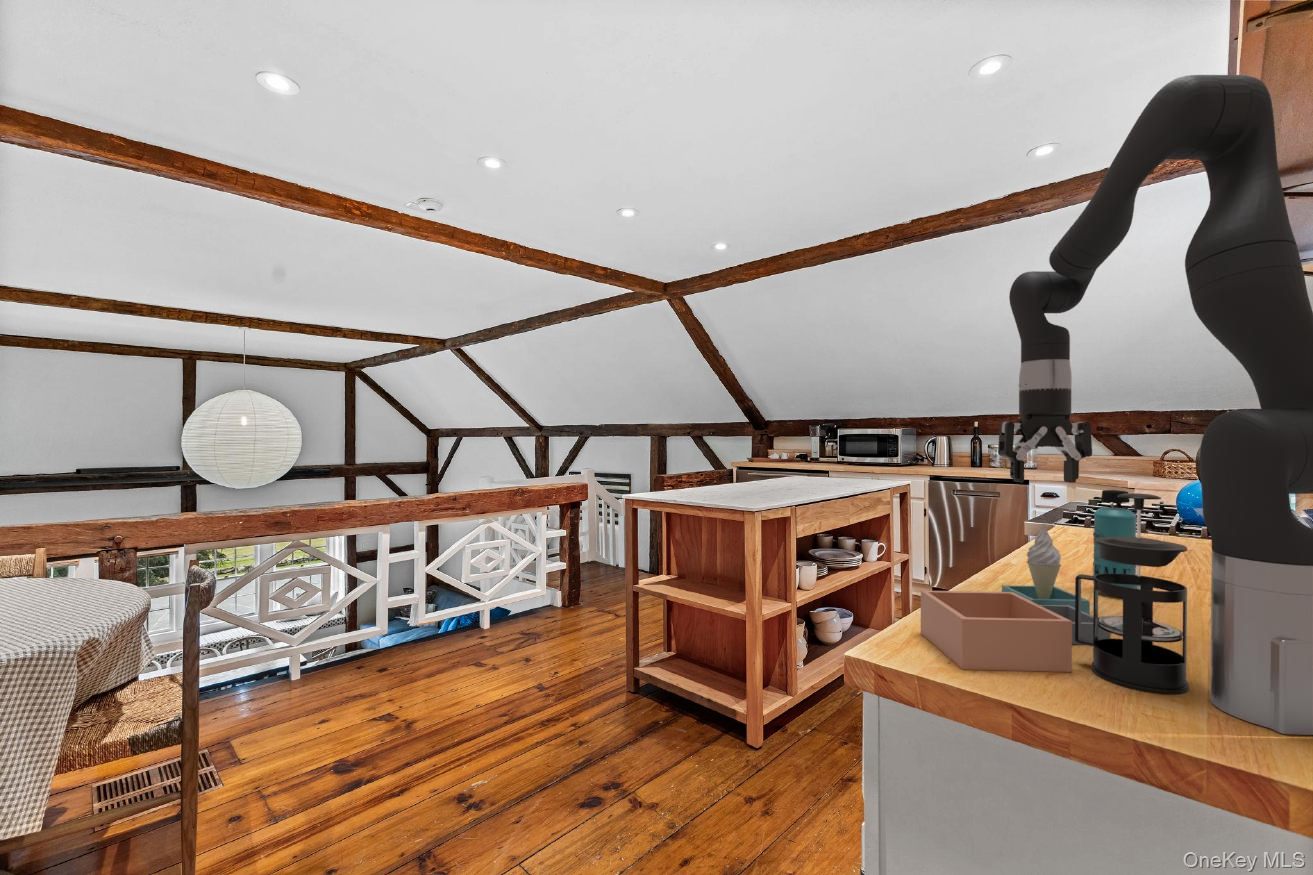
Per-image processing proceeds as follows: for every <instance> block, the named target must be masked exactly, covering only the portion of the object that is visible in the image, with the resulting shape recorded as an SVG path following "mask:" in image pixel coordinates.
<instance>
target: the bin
mask: <svg viewBox="0 0 1313 875" xmlns="http://www.w3.org/2000/svg"><path fill="white" fill-rule="evenodd" d="M920 634H921V635H922V636H923V637H924V638H926V640H928V641H929V642H930V643H931V644H933V645H934V646H935V647H936V648H937V649H938V650H939V651H941V652H942V653H943V654H944V655H945V656H947V658H949V659H950V660H951V661H952V662H953V663H955V665H957V666H958V667H959V668H960V669H961V670H971V671H972V670H973V671H975V670H976V671H977V670H979V671H1012V672H1013V671H1016V672H1017V671H1019V672H1024V671H1025V672H1055V673H1056V672H1057V673H1059V672H1062V673H1072V672H1073V668H1072V667H1073V663H1072V662H1073V660H1072V659H1073V658H1072V657H1073V644H1072V621H1070V620H1068V619H1066V618H1064V617H1062V616H1060V615H1058V614H1056V613H1054V612H1052V611H1050V610H1048V609H1046V608H1044V607H1042V606H1040V605H1038V604H1036V603H1034V602H1032V601H1030V600H1028V599H1026V598H1024V597H1022V596H1020V595H1018V594H1016V593H1014V592H1002V591H972V590H971V591H970V590H969V591H965V590H964V591H963V590H962V591H959V590H956V591H955V590H952V591H951V590H920Z"/></svg>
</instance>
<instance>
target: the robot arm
mask: <svg viewBox="0 0 1313 875" xmlns="http://www.w3.org/2000/svg"><path fill="white" fill-rule="evenodd" d="M1273 108H1274V107H1273V104H1272V97H1271V94H1270V92H1269V89H1268V88H1267V85H1266V84H1265V83H1264V82H1263V81H1262V80H1261V79H1259V78H1256V77H1254V76H1251V75H1250V76H1249V75H1243V74H1234V75H1233V74H1191V75H1184V76H1181V77H1180V76H1179V77H1176V78H1174V79H1172V80H1171V81H1170V82H1168V83H1166V84H1165V85H1164V86H1162V87H1161V88H1160V89H1159V90H1158V91H1157V92H1156V93H1155V94H1154V96H1153V97H1152V98H1151V99H1150V100H1149V102H1148V103H1147V104H1146V106H1145V107H1144V109H1142V111H1141V113H1140V115H1139V116H1138V117H1137V119H1136V121H1135V123H1134V125H1133V126H1132V127H1131V129H1130V131H1129V133H1128V135H1127V136H1126V138H1125V139H1124V141H1123V143H1122V145H1121V146H1120V149H1119V150H1118V152H1117V153H1116V155H1115V157H1114V158H1113V160H1112V162H1111V163H1110V166H1109V167H1108V169H1107V171H1106V173H1105V174H1104V175H1103V178H1102V179H1101V182H1100V184H1099V185H1098V188H1096V190H1095V192H1094V194H1093V195H1092V197H1091V199H1090V201H1089V202H1088V204H1087V205H1086V207H1085V208H1084V210H1083V211H1082V212H1081V213H1080V215H1079V216H1078V217H1077V219H1076V220H1075V221H1074V222H1073V224H1072V225H1071V226H1069V229H1068V230H1066V232H1065V233H1064V234H1063V236H1062V237H1061V238H1060V240H1059V241H1058V242H1057V243H1056V245H1055V246H1054V247H1053V249H1052V250H1051V252H1050V254H1049V257H1048V262H1049V265H1050V268H1052V270H1053V271H1050V270H1049V271H1047V270H1045V271H1042V270H1041V271H1039V270H1038V271H1036V270H1034V271H1026V272H1023V273H1021V274H1019V275H1018V276H1017V277H1016V278H1015V280H1014V281H1013V283H1012V284H1011V287H1010V290H1009V297H1008V299H1009V305H1010V309H1011V312H1012V316H1013V318H1014V321H1015V324H1016V328H1017V332H1018V334H1019V338H1020V369H1019V375H1018V376H1019V377H1018V414H1019V415H1018V416H1019V420H1018V422H1013V421H1001V422H1000V424H999V431H998V432H999V433H998V449H997V454H998V456H1001V457H1004V458H1007V459H1008V460H1009V469H1010V470H1009V476H1010V479H1012V480H1013V482H1014V483H1015V482H1016V483H1024V482H1025V460H1023V459H1024V458H1025V457H1026V456H1027V454H1028V453H1029V452H1030V451H1032V450H1033V449H1034V448H1039V447H1040V448H1044V447H1047V448H1049V447H1050V448H1055V449H1056V450H1057V451H1059V452H1060V454H1062V456H1063V457H1064V458H1065V460H1063V481H1064V482H1065V483H1069V484H1070V483H1071V484H1074V483H1076V482H1077V480H1078V479H1079V477H1080V461H1081V460H1082V459H1085V458H1090V457H1092V455H1093V442H1092V426H1091V423H1090V422H1089V421H1076V422H1071V418H1070V417H1071V415H1072V368H1071V361H1070V360H1071V355H1070V354H1071V347H1070V346H1071V335H1070V331H1069V329H1067V328H1066V327H1064V326H1062V325H1057V324H1054V323H1051V322H1049V321H1048V319H1047V317H1046V315H1045V314H1063V313H1066V312H1069V311H1070V310H1072V309H1074V308H1075V307H1076V306H1077V305H1079V303H1080V302H1081V301H1082V299H1083V298H1084V296H1085V293H1086V291H1087V289H1088V287H1089V285H1090V283H1091V281H1092V279H1093V277H1094V275H1095V273H1096V271H1097V270H1098V268H1099V267H1100V266H1101V265H1102V264H1103V263H1104V262H1105V261H1106V260H1108V258H1109V256H1111V255H1112V253H1114V251H1115V250H1116V249H1117V248H1118V247H1119V245H1121V243H1123V241H1124V239H1125V237H1126V236H1127V235H1128V233H1129V231H1130V228H1131V226H1132V222H1133V218H1134V217H1133V216H1134V211H1135V202H1136V197H1137V195H1138V192H1139V188H1140V187H1141V185H1142V184H1143V183H1144V181H1145V180H1146V178H1148V177H1149V175H1150V174H1151V173H1153V171H1154V170H1155V169H1157V168H1158V167H1159V166H1160V165H1161V164H1162V163H1163V162H1164V161H1165V160H1170V161H1171V160H1175V161H1176V160H1177V161H1178V160H1180V161H1181V160H1182V161H1183V160H1186V161H1187V160H1189V161H1191V160H1192V161H1193V160H1194V161H1197V160H1198V161H1200V162H1201V164H1202V165H1203V168H1204V169H1205V173H1206V177H1207V180H1208V187H1209V194H1210V195H1209V198H1210V199H1209V204H1208V207H1207V210H1206V212H1205V214H1204V216H1203V218H1202V219H1201V220H1200V223H1199V225H1198V226H1197V228H1196V231H1195V232H1194V233H1193V235H1192V238H1191V240H1190V242H1189V244H1188V247H1187V250H1186V253H1185V259H1184V268H1185V275H1186V280H1187V284H1188V289H1189V295H1190V298H1191V299H1190V300H1191V303H1192V304H1191V305H1192V307H1193V310H1194V312H1195V314H1196V316H1197V318H1198V319H1199V320H1200V322H1201V323H1202V324H1203V326H1204V327H1205V328H1206V329H1207V330H1208V332H1210V334H1212V336H1213V337H1214V338H1215V339H1216V340H1217V341H1218V342H1219V343H1220V344H1221V345H1222V346H1223V347H1224V348H1225V349H1226V350H1228V351H1229V353H1230V354H1231V355H1233V356H1234V358H1235V359H1236V360H1237V362H1239V363H1240V364H1241V365H1242V367H1243V368H1244V370H1245V371H1246V373H1247V374H1248V376H1249V378H1250V379H1251V382H1252V384H1253V386H1254V388H1255V391H1256V396H1257V399H1258V402H1259V406H1260V408H1248V409H1247V408H1243V409H1233V410H1229V411H1226V412H1223V413H1221V414H1219V415H1217V416H1216V417H1215V418H1214V419H1213V420H1212V421H1211V422H1210V423H1209V424H1208V426H1207V428H1206V429H1205V431H1204V433H1203V436H1202V439H1201V444H1200V447H1199V448H1200V449H1199V450H1200V451H1199V471H1200V472H1199V473H1200V484H1201V485H1200V486H1201V500H1202V517H1203V520H1204V524H1205V526H1206V529H1207V531H1208V533H1209V535H1210V541H1211V579H1210V580H1211V581H1210V582H1211V584H1210V588H1211V591H1210V594H1211V596H1210V701H1211V703H1212V705H1213V706H1214V707H1215V708H1218V709H1219V710H1221V711H1222V712H1224V713H1225V714H1228V715H1230V716H1232V717H1234V718H1238V719H1240V720H1243V721H1246V722H1249V723H1251V724H1254V725H1257V726H1261V727H1263V728H1266V729H1267V728H1268V729H1270V730H1273V731H1275V732H1277V733H1279V734H1283V735H1300V736H1302V735H1305V736H1313V528H1312V527H1310V526H1308V525H1306V524H1303V523H1302V522H1300V521H1299V519H1297V518H1296V517H1295V516H1294V514H1293V512H1292V508H1291V500H1290V499H1291V498H1290V495H1311V494H1313V308H1312V305H1311V301H1310V298H1309V293H1308V288H1307V283H1306V278H1305V272H1304V267H1303V265H1302V261H1301V257H1300V252H1299V248H1298V245H1297V241H1296V238H1295V235H1294V233H1293V229H1292V227H1291V222H1290V219H1289V215H1288V210H1287V205H1286V199H1285V195H1284V191H1283V186H1282V181H1281V176H1280V171H1279V166H1278V165H1279V163H1278V154H1277V153H1278V152H1277V144H1276V143H1277V142H1276V129H1275V117H1274V116H1275V115H1274V110H1273ZM1017 431H1018V432H1019V434H1020V435H1021V437H1020V438H1019V439H1018V441H1017V442H1016V443H1015V445H1014V438H1015V435H1016V433H1017ZM1070 432H1071V433H1072V434H1073V435H1074V442H1073V441H1072V439H1070V437H1069V436H1068V435H1069V434H1070Z"/></svg>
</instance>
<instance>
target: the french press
mask: <svg viewBox="0 0 1313 875" xmlns="http://www.w3.org/2000/svg"><path fill="white" fill-rule="evenodd" d="M1118 497H1122V498H1129V499H1133V507H1134V508H1133V509H1134V510H1136V537H1098V538H1094V537H1093V540H1094V541H1093V543H1094V542H1095V543H1097V544H1098V556H1099V557H1100V558H1102V559H1105V560H1109V561H1113V562H1118V563H1123V564H1130V565H1136V575H1131V574H1116V573H1105V574H1097V575H1094V576H1093V575H1090V574H1085V573H1084V574H1081V573H1079V574H1078V575H1076V576H1075V579H1074V580H1075V582H1074V583H1075V584H1074V595H1075V641H1076V642H1078V643H1081V644H1080V645H1087V646H1091V647H1093V648H1092V662H1091V665H1090V669H1091V671H1092V672H1093V673H1094V675H1096V676H1098V677H1100V678H1101V679H1104V680H1105V681H1107V682H1110V683H1112V684H1116V685H1119V686H1121V687H1124V688H1125V687H1126V688H1128V689H1132V690H1136V691H1142V692H1146V693H1152V694H1153V693H1154V694H1160V695H1161V694H1163V695H1177V694H1183V693H1186V692H1188V691H1189V688H1190V684H1189V682H1188V680H1187V653H1188V652H1187V651H1188V650H1187V647H1188V646H1187V644H1188V643H1187V641H1188V640H1187V638H1188V636H1187V634H1188V633H1187V631H1188V628H1187V627H1188V626H1187V624H1188V623H1187V622H1188V620H1187V619H1188V612H1187V611H1188V588H1187V586H1186V585H1183V584H1182V583H1179V582H1176V581H1172V580H1167V579H1164V578H1159V577H1154V576H1146V575H1141V568H1142V567H1148V568H1149V567H1150V568H1162V567H1166V566H1168V565H1170V563H1172V562H1174V560H1175V559H1176V558H1177V557H1178V556H1179V555H1180V554H1181V553H1186V552H1188V547H1187V546H1186V545H1183V544H1179V543H1175V542H1170V541H1165V540H1159V539H1156V538H1155V539H1154V538H1147V537H1146V538H1145V537H1141V536H1142V535H1141V534H1142V533H1141V531H1142V528H1141V526H1142V524H1141V522H1142V519H1141V518H1142V511H1144V508H1145V500H1161V499H1162V497H1160V496H1159V495H1154V494H1150V493H1141V492H1140V493H1136V492H1135V493H1131V492H1128V493H1126V494H1120V495H1118ZM1082 580H1086V581H1092V582H1093V604H1092V605H1093V609H1092V610H1093V611H1092V613H1093V615H1092V616H1093V640H1090V639H1085V638H1082V637H1081V597H1082ZM1111 583H1114V584H1130V585H1136V589H1134V588H1128V587H1122V586H1118V585H1113V584H1111ZM1154 589H1158V590H1154ZM1099 592H1100V593H1103V594H1107V595H1110V596H1113V597H1119V598H1122V616H1121V615H1120V616H1119V615H1107V616H1099ZM1154 603H1162V604H1165V603H1166V604H1170V603H1171V604H1173V603H1175V604H1176V603H1182V630H1180V629H1179V628H1176V627H1174V626H1171V625H1169V624H1165V623H1162V622H1158V621H1155V620H1154ZM1098 626H1099V627H1100V628H1101V629H1103V630H1105V631H1107V632H1110V633H1111V634H1113V635H1116V636H1120V637H1122V638H1109V639H1099V640H1098ZM1181 641H1182V654H1180V653H1178V652H1176V651H1174V650H1173V649H1169V648H1166V647H1163V646H1161V645H1156V644H1154V643H1164V644H1165V643H1179V642H1181Z"/></svg>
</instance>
